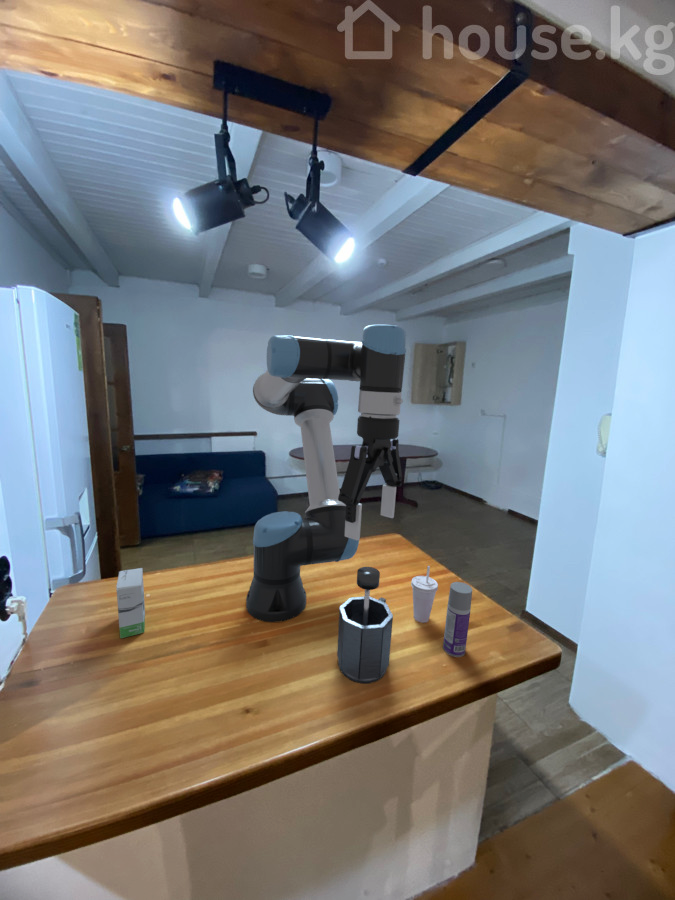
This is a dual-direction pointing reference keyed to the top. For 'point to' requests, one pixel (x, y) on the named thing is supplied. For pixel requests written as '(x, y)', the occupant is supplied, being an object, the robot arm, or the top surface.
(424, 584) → the smoothie
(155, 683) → the top surface
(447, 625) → the container
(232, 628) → the top surface
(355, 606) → the mug
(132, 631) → the ink box
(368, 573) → the plunger
